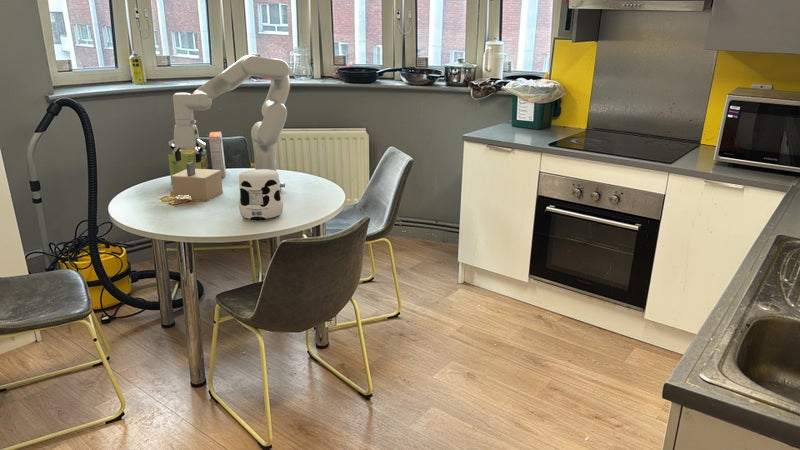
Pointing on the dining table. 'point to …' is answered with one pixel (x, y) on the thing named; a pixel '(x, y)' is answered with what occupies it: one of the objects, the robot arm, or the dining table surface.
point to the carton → (198, 187)
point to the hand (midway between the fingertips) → (188, 161)
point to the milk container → (260, 195)
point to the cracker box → (217, 152)
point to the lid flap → (195, 172)
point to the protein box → (186, 161)
